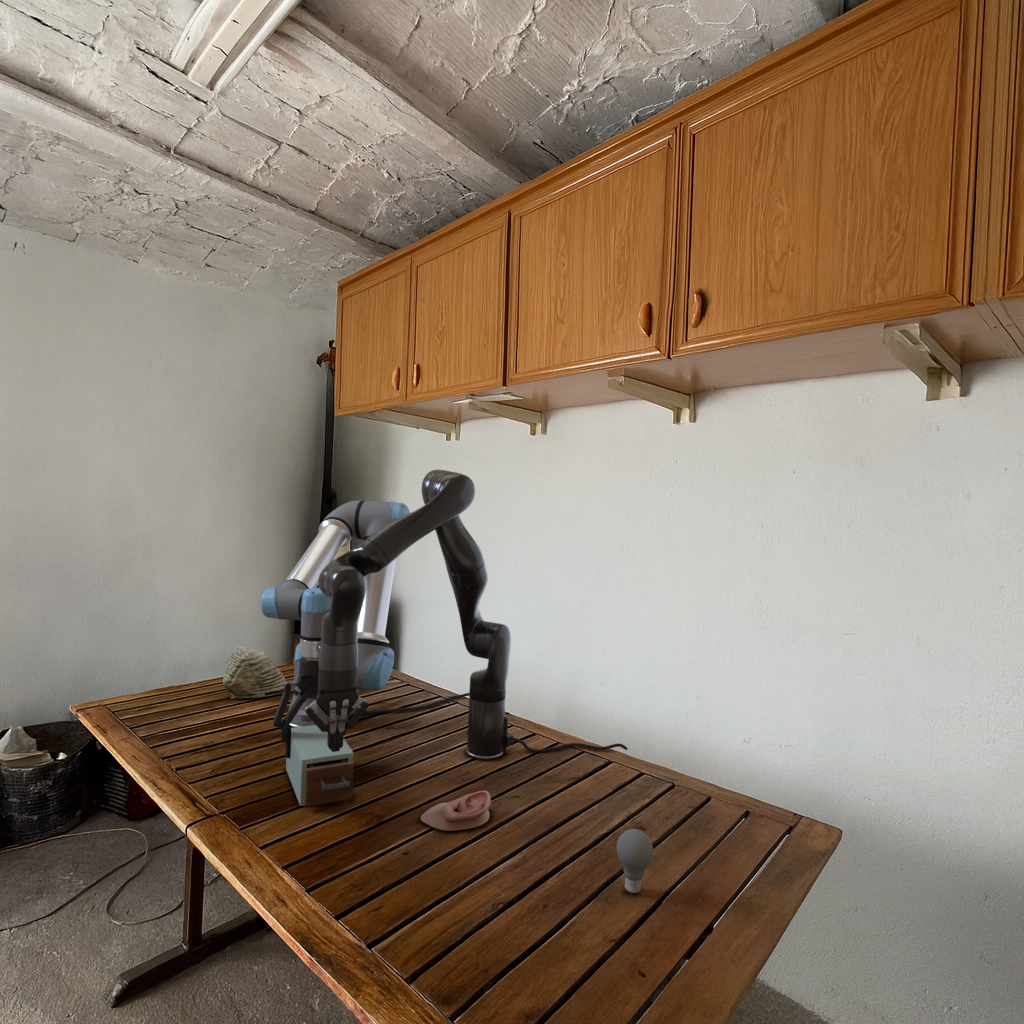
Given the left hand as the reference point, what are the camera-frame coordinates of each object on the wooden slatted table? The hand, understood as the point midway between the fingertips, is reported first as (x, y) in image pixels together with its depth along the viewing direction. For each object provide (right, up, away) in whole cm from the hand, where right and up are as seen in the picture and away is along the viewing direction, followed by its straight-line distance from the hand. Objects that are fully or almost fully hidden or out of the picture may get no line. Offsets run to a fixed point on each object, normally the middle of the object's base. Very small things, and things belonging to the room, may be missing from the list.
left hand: (313, 752), depth 145 cm
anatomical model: (+34, -6, -18) cm, 39 cm away
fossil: (-35, -2, +53) cm, 63 cm away
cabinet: (+2, -5, -5) cm, 7 cm away
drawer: (+6, -4, -11) cm, 13 cm away
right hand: (+10, +8, -19) cm, 23 cm away
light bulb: (+66, -8, -40) cm, 77 cm away
